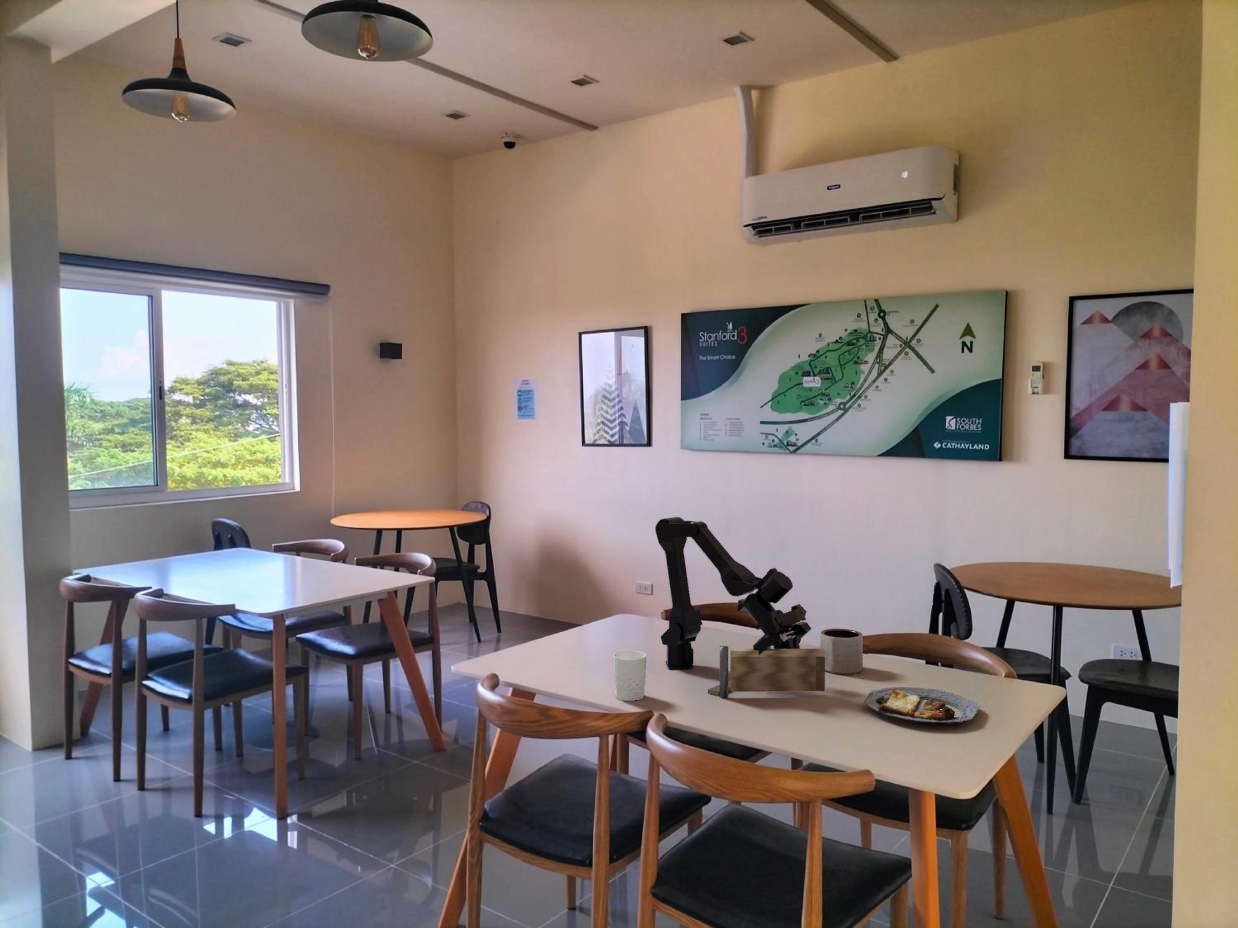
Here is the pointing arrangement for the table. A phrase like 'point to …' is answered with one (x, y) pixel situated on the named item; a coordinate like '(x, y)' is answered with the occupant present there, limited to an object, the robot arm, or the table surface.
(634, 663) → the white cup
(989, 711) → the table surface
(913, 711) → the food plate
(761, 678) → the gate leaf
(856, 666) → the planter
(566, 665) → the table surface
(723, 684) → the gate frame
